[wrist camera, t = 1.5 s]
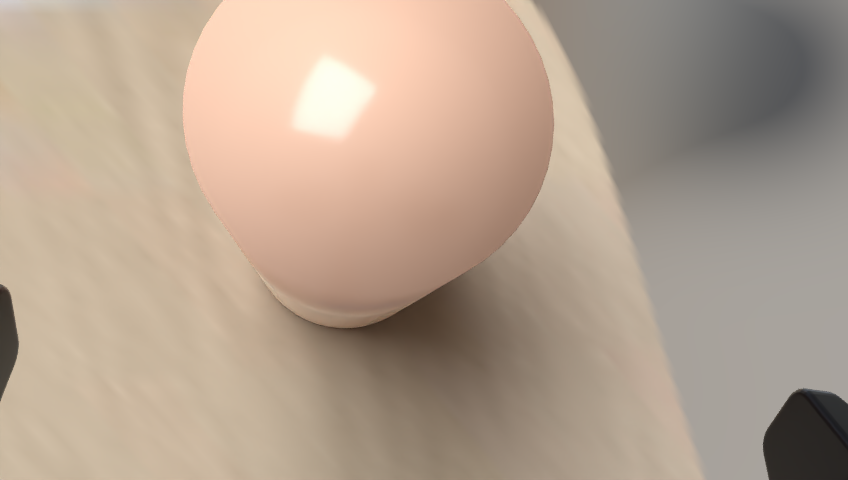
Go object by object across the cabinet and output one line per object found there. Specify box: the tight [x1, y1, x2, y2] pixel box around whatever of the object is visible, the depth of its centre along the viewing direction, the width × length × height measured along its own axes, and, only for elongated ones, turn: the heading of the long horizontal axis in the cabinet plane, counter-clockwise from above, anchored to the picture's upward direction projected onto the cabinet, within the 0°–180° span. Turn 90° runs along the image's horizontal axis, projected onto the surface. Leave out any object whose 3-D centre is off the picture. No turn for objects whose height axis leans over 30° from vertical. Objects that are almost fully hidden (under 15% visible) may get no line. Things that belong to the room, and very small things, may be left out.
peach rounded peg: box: [183, 0, 554, 328], centre depth 16 cm, size 5×5×11 cm
